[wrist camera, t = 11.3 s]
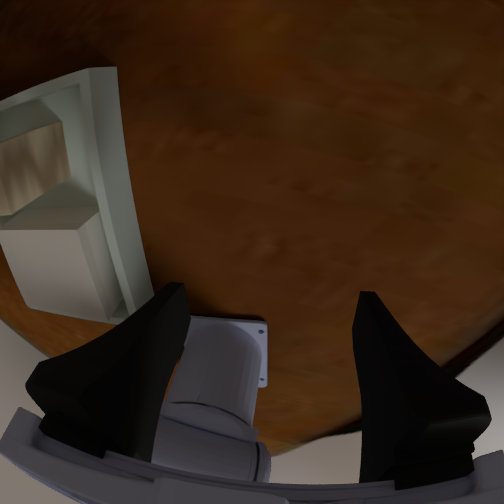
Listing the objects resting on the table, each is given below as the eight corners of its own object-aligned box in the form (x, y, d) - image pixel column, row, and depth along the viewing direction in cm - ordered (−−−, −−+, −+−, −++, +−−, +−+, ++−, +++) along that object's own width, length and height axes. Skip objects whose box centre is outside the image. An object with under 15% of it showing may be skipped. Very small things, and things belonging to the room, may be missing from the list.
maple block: (71, 176, 21) (11, 215, 15) (35, 181, 22) (-22, 217, 16) (61, 120, 19) (-6, 146, 13) (25, 131, 20) (-38, 158, 14)
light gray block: (127, 291, 26) (107, 321, 23) (48, 281, 28) (26, 305, 24) (105, 205, 22) (77, 229, 19) (23, 210, 23) (-5, 230, 20)
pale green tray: (156, 302, 28) (142, 328, 25) (47, 288, 30) (29, 307, 27) (116, 66, 18) (88, 68, 15) (-2, 107, 19) (-29, 115, 16)
